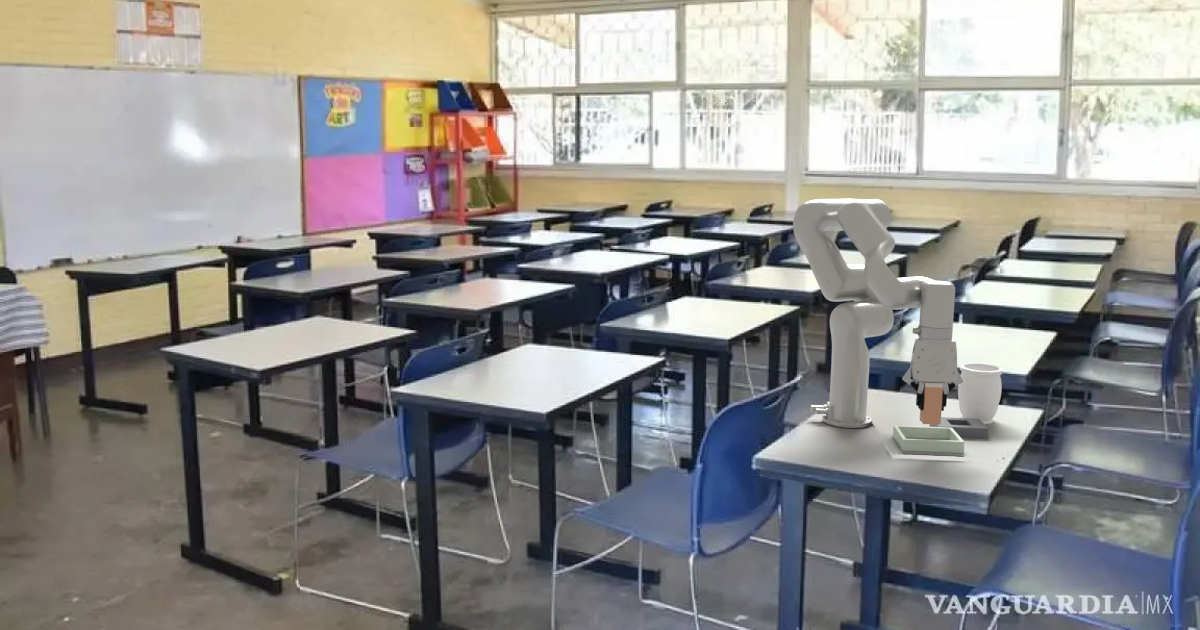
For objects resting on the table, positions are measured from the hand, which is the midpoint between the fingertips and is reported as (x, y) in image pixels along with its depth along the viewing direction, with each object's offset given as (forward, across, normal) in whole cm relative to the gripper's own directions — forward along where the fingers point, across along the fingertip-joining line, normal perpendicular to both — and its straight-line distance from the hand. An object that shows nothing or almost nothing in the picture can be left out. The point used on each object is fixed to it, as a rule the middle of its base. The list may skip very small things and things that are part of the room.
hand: (930, 408), depth 246 cm
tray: (+10, 0, 0) cm, 10 cm away
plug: (+3, 0, 0) cm, 3 cm away
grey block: (+10, +10, +12) cm, 18 cm away
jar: (+10, +18, +25) cm, 32 cm away
